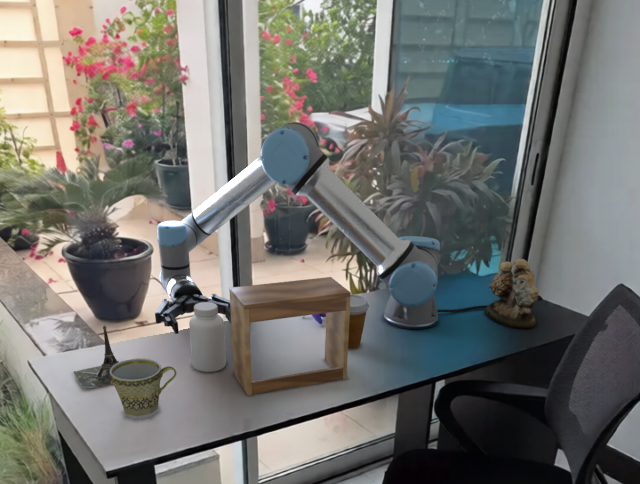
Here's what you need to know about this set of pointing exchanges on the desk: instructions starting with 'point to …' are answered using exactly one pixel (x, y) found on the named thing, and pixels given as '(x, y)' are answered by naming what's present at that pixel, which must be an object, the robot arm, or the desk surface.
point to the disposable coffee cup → (356, 320)
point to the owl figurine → (513, 295)
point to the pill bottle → (207, 338)
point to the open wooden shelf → (285, 304)
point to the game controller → (318, 317)
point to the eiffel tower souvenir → (98, 369)
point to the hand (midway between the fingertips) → (206, 324)
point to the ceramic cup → (139, 386)
